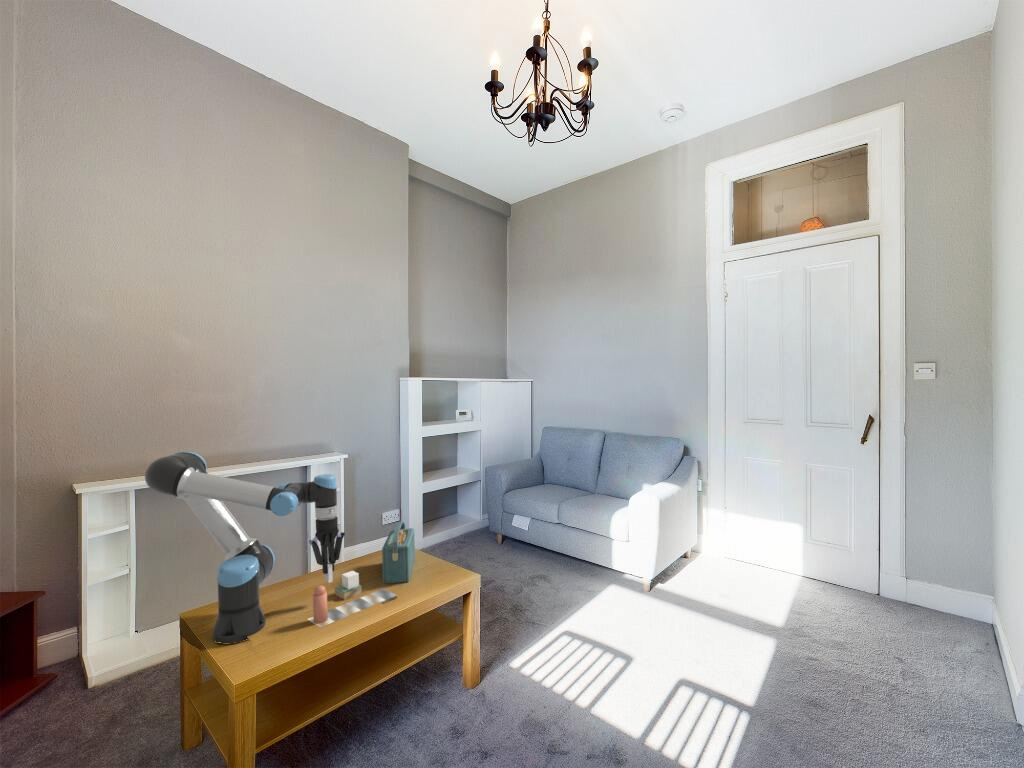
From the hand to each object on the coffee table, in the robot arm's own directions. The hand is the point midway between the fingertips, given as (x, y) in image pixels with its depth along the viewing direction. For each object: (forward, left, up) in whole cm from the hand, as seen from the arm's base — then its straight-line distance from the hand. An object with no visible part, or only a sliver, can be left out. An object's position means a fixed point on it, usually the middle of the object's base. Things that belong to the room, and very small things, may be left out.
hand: (328, 581), depth 171 cm
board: (+4, -11, -9) cm, 14 cm away
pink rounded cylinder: (-9, -11, -7) cm, 16 cm away
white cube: (+9, 0, -5) cm, 10 cm away
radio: (+35, +5, -9) cm, 36 cm away
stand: (+8, 0, -9) cm, 12 cm away
